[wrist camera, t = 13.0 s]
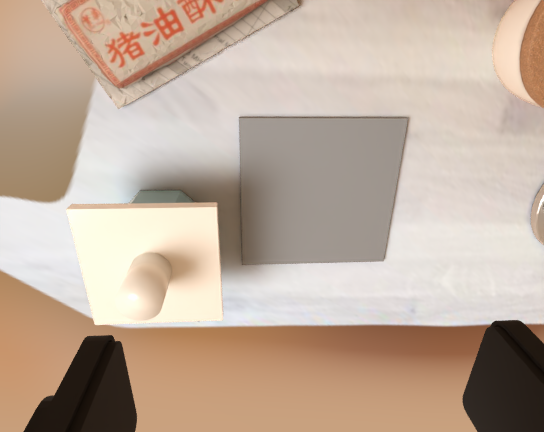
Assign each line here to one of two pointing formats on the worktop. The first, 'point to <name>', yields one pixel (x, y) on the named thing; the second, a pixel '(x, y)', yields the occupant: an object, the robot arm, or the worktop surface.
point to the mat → (317, 188)
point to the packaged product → (156, 36)
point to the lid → (149, 261)
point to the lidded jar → (521, 51)
